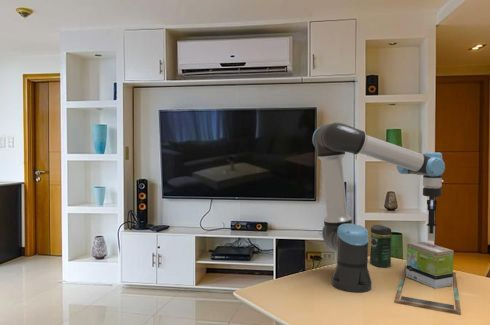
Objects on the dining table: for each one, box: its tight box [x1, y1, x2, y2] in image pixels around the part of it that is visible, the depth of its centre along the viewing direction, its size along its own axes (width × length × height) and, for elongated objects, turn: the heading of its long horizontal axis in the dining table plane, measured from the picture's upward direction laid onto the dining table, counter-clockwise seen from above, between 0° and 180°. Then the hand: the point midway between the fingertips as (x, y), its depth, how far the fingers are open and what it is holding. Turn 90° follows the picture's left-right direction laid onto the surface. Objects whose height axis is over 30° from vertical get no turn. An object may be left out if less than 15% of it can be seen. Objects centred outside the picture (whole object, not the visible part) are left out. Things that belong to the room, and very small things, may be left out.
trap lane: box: [393, 264, 462, 316], centre depth 151 cm, size 20×47×1 cm, turn 153°
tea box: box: [405, 241, 455, 290], centre depth 157 cm, size 15×10×15 cm, turn 23°
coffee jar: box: [369, 224, 393, 268], centre depth 180 cm, size 10×8×19 cm
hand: (431, 240), depth 170 cm, fingers closed
